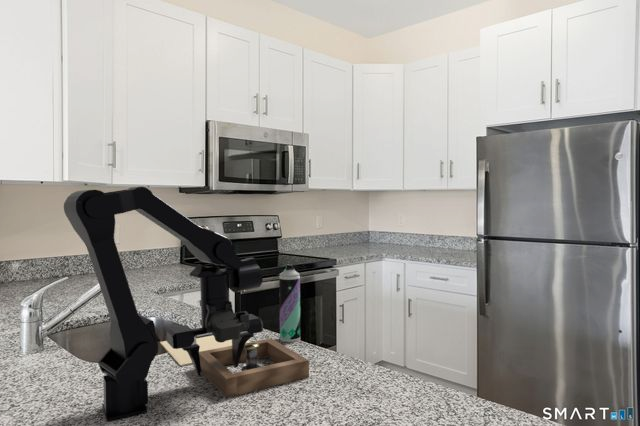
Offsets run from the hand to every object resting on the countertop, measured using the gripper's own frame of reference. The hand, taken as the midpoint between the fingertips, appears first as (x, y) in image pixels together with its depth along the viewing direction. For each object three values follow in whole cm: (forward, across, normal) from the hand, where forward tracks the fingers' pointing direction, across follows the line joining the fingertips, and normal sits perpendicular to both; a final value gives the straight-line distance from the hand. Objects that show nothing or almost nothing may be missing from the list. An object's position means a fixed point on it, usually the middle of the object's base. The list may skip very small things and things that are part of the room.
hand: (217, 371), depth 92 cm
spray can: (+3, +26, +16) cm, 30 cm away
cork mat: (+2, +6, +22) cm, 23 cm away
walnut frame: (+2, +8, 0) cm, 8 cm away
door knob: (+2, +8, 0) cm, 8 cm away
